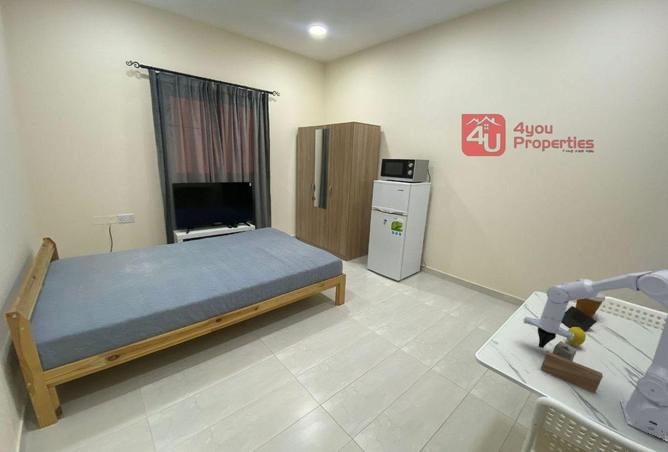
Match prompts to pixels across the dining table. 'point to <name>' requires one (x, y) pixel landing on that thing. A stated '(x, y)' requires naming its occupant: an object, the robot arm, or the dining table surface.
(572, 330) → the lemon
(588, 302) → the disposable coffee cup
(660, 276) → the robot arm
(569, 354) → the dice cube
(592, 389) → the brown wooden block
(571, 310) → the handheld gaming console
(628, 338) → the dining table surface
